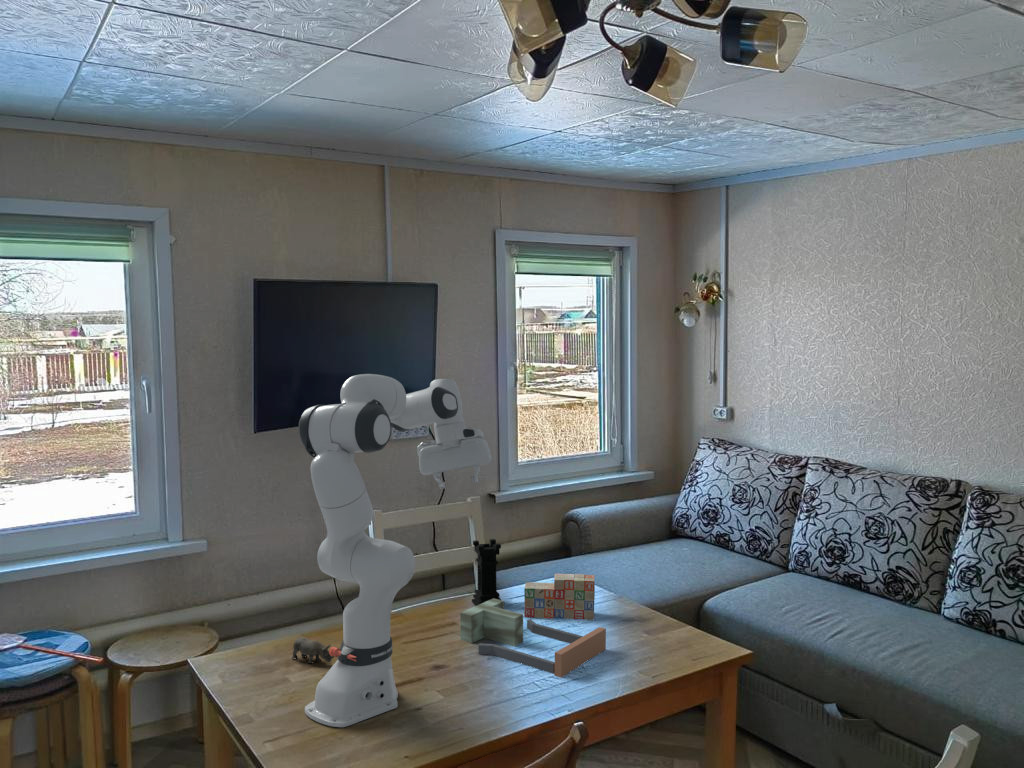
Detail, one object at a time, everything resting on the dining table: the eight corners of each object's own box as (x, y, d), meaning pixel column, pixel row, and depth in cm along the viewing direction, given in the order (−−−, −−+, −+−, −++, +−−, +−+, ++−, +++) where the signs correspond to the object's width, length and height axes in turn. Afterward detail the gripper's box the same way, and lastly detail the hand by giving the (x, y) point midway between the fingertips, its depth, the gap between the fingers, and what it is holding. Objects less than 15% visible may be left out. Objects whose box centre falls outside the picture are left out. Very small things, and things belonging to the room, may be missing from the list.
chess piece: (471, 601, 266) (471, 540, 264) (495, 599, 268) (495, 538, 266) (478, 609, 258) (477, 547, 256) (502, 607, 260) (502, 544, 259)
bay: (558, 679, 208) (558, 656, 207) (476, 653, 224) (476, 632, 224) (607, 648, 227) (607, 627, 227) (529, 627, 243) (529, 607, 243)
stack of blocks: (523, 618, 251) (523, 578, 250) (525, 610, 257) (525, 572, 256) (594, 620, 249) (594, 580, 248) (594, 613, 255) (594, 574, 254)
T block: (502, 652, 224) (502, 624, 224) (460, 640, 234) (460, 612, 233) (534, 636, 236) (534, 608, 236) (493, 624, 245) (493, 598, 245)
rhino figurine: (329, 669, 214) (328, 647, 213) (289, 659, 220) (288, 637, 220) (339, 664, 218) (339, 641, 217) (299, 654, 224) (299, 632, 224)
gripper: (412, 442, 229) (419, 491, 226) (483, 428, 226) (491, 478, 223) (419, 444, 235) (426, 492, 232) (488, 430, 232) (496, 479, 229)
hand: (458, 485), depth 228 cm, fingers open, 8 cm apart
